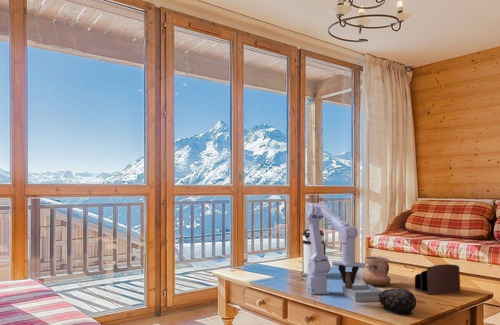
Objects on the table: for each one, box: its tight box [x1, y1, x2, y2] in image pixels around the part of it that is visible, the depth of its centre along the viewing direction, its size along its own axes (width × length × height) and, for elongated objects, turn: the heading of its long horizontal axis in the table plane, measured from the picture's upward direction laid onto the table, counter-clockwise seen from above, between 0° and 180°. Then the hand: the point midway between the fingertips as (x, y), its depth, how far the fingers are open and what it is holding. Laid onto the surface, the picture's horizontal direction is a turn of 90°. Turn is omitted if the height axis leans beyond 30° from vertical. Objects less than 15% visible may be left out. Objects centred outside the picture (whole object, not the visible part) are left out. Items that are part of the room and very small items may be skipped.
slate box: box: [342, 284, 384, 303], centre depth 200 cm, size 14×14×4 cm
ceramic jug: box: [361, 255, 392, 287], centre depth 226 cm, size 18×14×14 cm
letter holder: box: [414, 263, 461, 296], centre depth 212 cm, size 10×20×14 cm, turn 109°
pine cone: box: [378, 287, 417, 316], centre depth 178 cm, size 10×18×10 cm, turn 36°
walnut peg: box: [344, 271, 353, 289], centre depth 189 cm, size 3×3×7 cm
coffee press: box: [300, 228, 326, 277], centre depth 248 cm, size 17×16×30 cm
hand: (348, 283), depth 189 cm, fingers closed on walnut peg, 3 cm apart
